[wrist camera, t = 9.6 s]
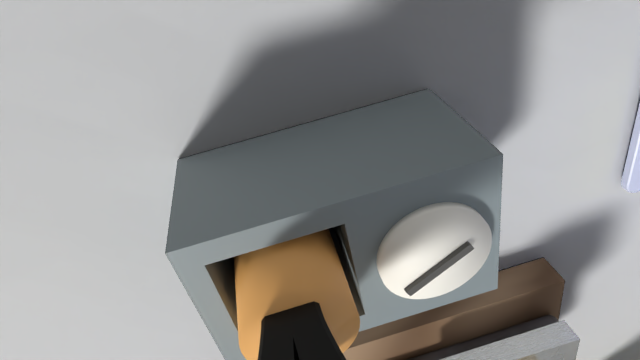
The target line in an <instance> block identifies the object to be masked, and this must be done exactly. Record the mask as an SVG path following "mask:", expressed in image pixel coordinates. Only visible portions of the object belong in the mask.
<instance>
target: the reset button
mask: <svg viewBox="0 0 640 360" xmlns="http://www.w3.org/2000/svg"><path fill="white" fill-rule="evenodd" d="M234 271H235V288H236V305H237V322H238V339H239V347H240V350H241V353H242V354H243V356H244V357H245V358H246V359H247V360H258V353H259V345H260V335H261V321H262V319H263V318H264V317H265V316H267V315H271V314H274V313H277V312H280V311H284V310H287V309H290V308H293V307H297V306H300V305H303V304H306V303H310V302H313V301H315V302H317V303H319V304H320V307H321V310H322V313H323V316H324V318H325V321H326V323H327V325H328V327H329V329H330V331H331V333H332V335H333V337H334V339H335V341H336V342H337V344H338V346H339V348H340V350H341V351H342V353H344V352H345V351H346V350H347V349H348V348H349V347H350V346H351V344H352V343H353V342H354V340H355V338H356V337H357V334H358V332H359V328H360V316H359V313H358V311H357V308H356V305H355V302H354V299H353V296H352V294H351V291H350V288H349V285H348V282H347V279H346V276H345V274H344V271H343V268H342V265H341V262H340V259H339V256H338V254H337V251H336V248H335V245H334V242H333V239H332V237H331V234H330V231H329V229H325V230H322V231H319V232H315V233H312V234H309V235H305V236H302V237H299V238H295V239H292V240H289V241H285V242H282V243H278V244H275V245H272V246H268V247H265V248H262V249H258V250H255V251H252V252H248V253H245V254H241V255H238V256H235V257H234Z"/></svg>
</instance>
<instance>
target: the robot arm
mask: <svg viewBox="0 0 640 360" xmlns="http://www.w3.org/2000/svg"><path fill="white" fill-rule="evenodd" d="M621 186H622V187H623V188H624V189H625V190H626V191H628V192H631V193H633V192H638V191H640V103H639V107H638V112H637V116H636V120H635V125H634V129H633V133H632V138H631V142H630V146H629V151H628V155H627V159H626V163H625V168H624V172H623V176H622V181H621ZM258 360H346V358H345V356H344V355H343V353H342V351H341V350H340V348H339V346H338V344H337V342H336V341H335V339H334V337H333V335H332V333H331V331H330V329H329V327H328V325H327V323H326V321H325V318H324V316H323V313H322V310H321V307H320V304H319V303H317V302H315V301H313V302H310V303H306V304H303V305H300V306H297V307H293V308H290V309H287V310H284V311H280V312H277V313H274V314H271V315H267V316H265V317H264V318H263V319H262V321H261V335H260V345H259V353H258Z"/></svg>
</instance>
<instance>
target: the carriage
mask: <svg viewBox="0 0 640 360" xmlns="http://www.w3.org/2000/svg"><path fill="white" fill-rule="evenodd" d="M579 341H580V338H579V337H578V336H577V335H576V334H575V332H574V331H573V330H572V329H571V328H570V326H569V325H568V324H567V323H566V322H565V320H562V321H559V322H556V323H553V324H550V325H547V326H544V327H541V328H537V329H534V330H531V331H528V332H525V333H522V334H519V335H515V336H512V337H509V338H506V339H503V340H500V341H497V342H494V343H490V344H487V345H484V346H481V347H478V348H475V349H472V350H469V351H465V352H462V353H459V354H456V355H453V356H450V357H447V358H443V359H440V360H576V355H577V351H578V346H579Z"/></svg>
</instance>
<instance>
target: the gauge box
mask: <svg viewBox="0 0 640 360" xmlns="http://www.w3.org/2000/svg"><path fill="white" fill-rule="evenodd" d="M502 167H503V154H502V153H501V152H500V151H499V150H498V149H497V148H496V147H494V146H493V145H492V144H491V143H490V142H489V141H488V140H487V139H485V138H484V137H483V136H482V135H481V134H480V133H479V132H477V131H476V130H475V129H474V128H473V127H472V126H471V125H470V124H468V123H467V122H466V121H465V120H464V119H463V118H462V117H460V116H459V115H458V114H457V113H456V112H455V111H454V110H453V109H451V108H450V107H449V106H448V105H447V104H446V103H445V102H443V101H442V100H441V99H440V98H439V97H438V96H437V95H436V94H434V93H433V92H432V91H431V90H430V89H426V90H422V91H419V92H415V93H412V94H408V95H405V96H401V97H398V98H394V99H391V100H387V101H383V102H380V103H376V104H373V105H369V106H366V107H362V108H359V109H355V110H352V111H348V112H345V113H341V114H337V115H334V116H330V117H327V118H323V119H320V120H316V121H313V122H309V123H306V124H302V125H299V126H295V127H292V128H288V129H284V130H281V131H277V132H274V133H270V134H267V135H263V136H260V137H256V138H253V139H249V140H246V141H242V142H238V143H235V144H231V145H228V146H224V147H221V148H217V149H214V150H210V151H207V152H203V153H200V154H196V155H193V156H189V157H185V158H182V159H178V161H177V169H176V176H175V184H174V191H173V199H172V206H171V214H170V221H169V229H168V236H167V244H166V251H165V254H166V256H167V258H168V259H169V261H170V263H171V265H172V266H173V268H174V270H175V272H176V274H177V275H178V277H179V279H180V281H181V282H182V284H183V286H184V288H185V289H186V291H187V293H188V295H189V297H190V298H191V300H192V302H193V304H194V305H195V307H196V309H197V311H198V313H199V314H200V316H201V318H202V320H203V321H204V323H205V325H206V327H207V328H208V330H209V332H210V334H211V336H212V337H213V339H214V341H215V343H216V344H217V346H218V348H219V350H220V352H221V353H222V355H223V357H224V359H225V360H247V359H246V358H245V357H244V356H243V354H242V353H241V350H240V347H239V339H238V322H237V305H236V288H235V271H234V257H235V256H238V255H241V254H245V253H248V252H252V251H255V250H258V249H262V248H265V247H268V246H272V245H275V244H278V243H282V242H285V241H289V240H292V239H295V238H299V237H302V236H305V235H309V234H312V233H315V232H319V231H322V230H325V229H329V231H330V234H331V237H332V239H333V242H334V245H335V248H336V251H337V254H338V256H339V259H340V262H341V265H342V268H343V271H344V274H345V276H346V279H347V282H348V285H349V288H350V291H351V294H352V296H353V299H354V302H355V305H356V308H357V311H358V313H359V316H360V328H359V332H360V331H363V330H367V329H370V328H373V327H376V326H379V325H383V324H386V323H389V322H392V321H395V320H399V319H402V318H405V317H408V316H411V315H415V314H418V313H421V312H424V311H427V310H431V309H434V308H437V307H440V306H443V305H447V304H450V303H453V302H456V301H459V300H463V299H466V298H469V297H472V296H476V295H479V294H482V293H485V292H488V291H492V290H495V289H498V265H499V241H500V216H501V191H502Z"/></svg>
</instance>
